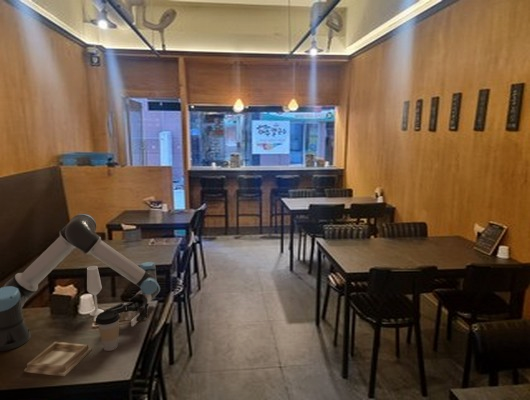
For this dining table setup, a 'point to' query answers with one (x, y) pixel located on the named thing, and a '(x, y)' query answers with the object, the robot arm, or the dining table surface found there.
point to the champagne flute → (94, 287)
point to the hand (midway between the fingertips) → (117, 322)
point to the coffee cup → (108, 329)
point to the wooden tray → (58, 359)
